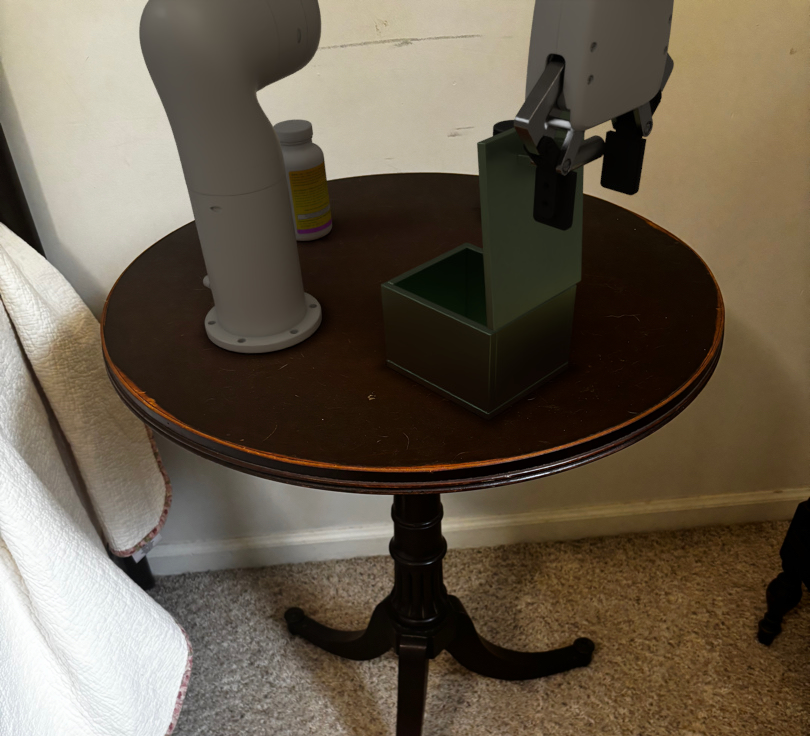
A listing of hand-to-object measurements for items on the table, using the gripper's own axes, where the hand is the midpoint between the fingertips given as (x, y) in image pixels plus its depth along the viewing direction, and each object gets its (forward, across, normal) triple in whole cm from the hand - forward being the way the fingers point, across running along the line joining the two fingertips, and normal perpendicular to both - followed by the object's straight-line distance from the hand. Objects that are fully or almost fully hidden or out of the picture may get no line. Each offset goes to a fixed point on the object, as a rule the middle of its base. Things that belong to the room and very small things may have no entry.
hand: (586, 205), depth 60 cm
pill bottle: (+19, -29, -32) cm, 47 cm away
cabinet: (+19, 0, -11) cm, 22 cm away
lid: (+2, 0, -5) cm, 6 cm away
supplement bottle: (+19, -9, -49) cm, 53 cm away
